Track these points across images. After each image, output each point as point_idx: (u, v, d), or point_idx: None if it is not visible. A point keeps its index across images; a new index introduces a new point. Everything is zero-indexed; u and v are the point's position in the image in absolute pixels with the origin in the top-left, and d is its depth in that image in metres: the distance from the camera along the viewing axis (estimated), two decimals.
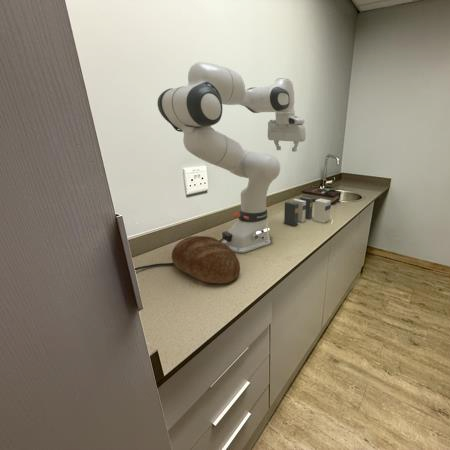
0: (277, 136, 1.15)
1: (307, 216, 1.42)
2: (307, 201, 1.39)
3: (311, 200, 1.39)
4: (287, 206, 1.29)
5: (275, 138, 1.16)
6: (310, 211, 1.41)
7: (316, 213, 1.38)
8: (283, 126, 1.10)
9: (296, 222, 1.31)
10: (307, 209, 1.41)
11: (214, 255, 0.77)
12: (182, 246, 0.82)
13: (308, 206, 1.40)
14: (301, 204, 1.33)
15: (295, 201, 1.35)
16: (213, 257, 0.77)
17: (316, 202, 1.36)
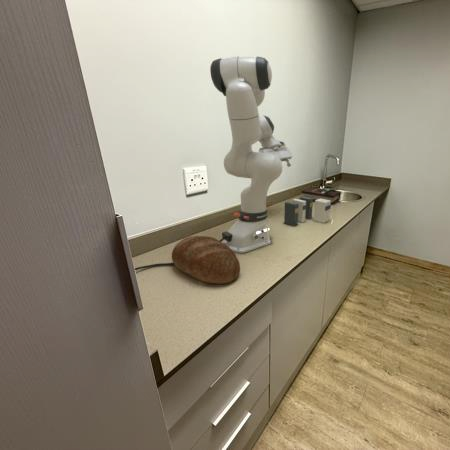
0: None
1: (307, 216, 1.42)
2: (307, 201, 1.39)
3: (311, 200, 1.39)
4: (287, 206, 1.29)
5: None
6: (310, 211, 1.41)
7: (316, 213, 1.38)
8: (277, 147, 1.34)
9: (296, 222, 1.31)
10: (307, 209, 1.41)
11: (214, 255, 0.77)
12: (182, 246, 0.82)
13: (308, 206, 1.40)
14: (301, 204, 1.33)
15: (295, 201, 1.35)
16: (213, 257, 0.77)
17: (316, 202, 1.36)
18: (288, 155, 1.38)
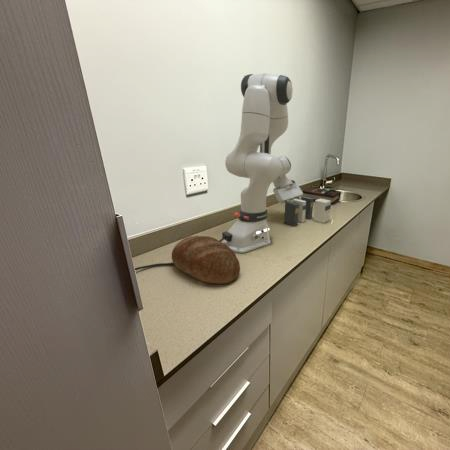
0: (288, 195, 1.34)
1: (307, 216, 1.42)
2: (308, 201, 1.39)
3: (312, 200, 1.39)
4: (287, 206, 1.29)
5: (288, 197, 1.33)
6: (310, 211, 1.41)
7: (316, 213, 1.38)
8: (290, 186, 1.37)
9: (296, 222, 1.31)
10: (307, 209, 1.41)
11: (214, 255, 0.77)
12: (182, 246, 0.82)
13: (309, 206, 1.40)
14: (301, 204, 1.33)
15: (295, 201, 1.35)
16: (213, 257, 0.77)
17: (316, 202, 1.36)
18: (299, 193, 1.42)
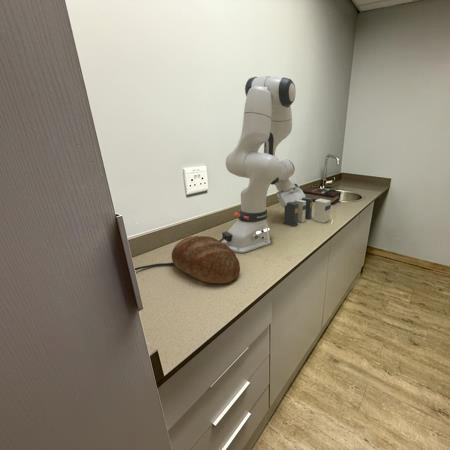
0: (291, 199, 1.33)
1: (307, 216, 1.42)
2: (307, 201, 1.39)
3: (311, 200, 1.39)
4: (287, 206, 1.29)
5: (291, 201, 1.32)
6: (310, 211, 1.41)
7: (316, 213, 1.38)
8: (293, 190, 1.37)
9: (296, 222, 1.31)
10: (307, 209, 1.41)
11: (214, 255, 0.77)
12: (182, 246, 0.82)
13: (308, 206, 1.40)
14: (301, 204, 1.33)
15: (295, 201, 1.35)
16: (213, 257, 0.77)
17: (316, 202, 1.36)
18: (302, 197, 1.41)
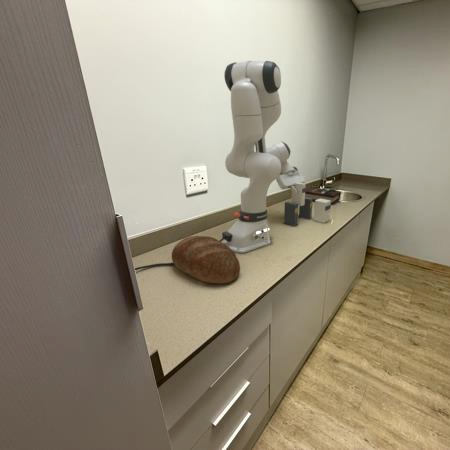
0: (291, 182, 1.30)
1: (307, 216, 1.42)
2: (307, 201, 1.39)
3: (311, 200, 1.39)
4: (287, 206, 1.29)
5: (290, 183, 1.29)
6: (310, 211, 1.41)
7: (316, 213, 1.38)
8: (292, 172, 1.33)
9: (296, 222, 1.31)
10: (307, 209, 1.41)
11: (214, 255, 0.77)
12: (182, 246, 0.82)
13: (308, 206, 1.40)
14: (300, 187, 1.30)
15: None
16: (213, 257, 0.77)
17: (316, 202, 1.36)
18: (302, 180, 1.38)
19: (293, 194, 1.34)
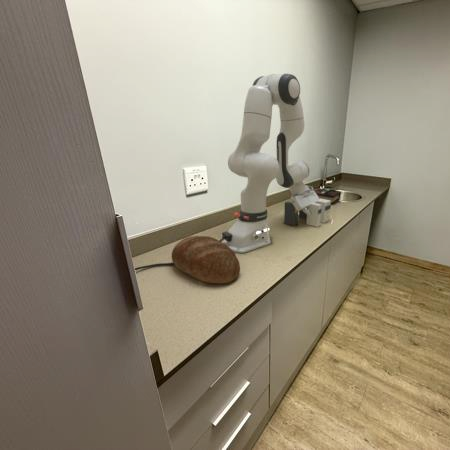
0: (306, 202, 1.28)
1: None
2: None
3: None
4: (287, 206, 1.29)
5: (306, 204, 1.27)
6: None
7: None
8: (307, 193, 1.31)
9: (296, 222, 1.31)
10: None
11: (214, 255, 0.77)
12: (182, 246, 0.82)
13: None
14: (316, 208, 1.28)
15: (310, 205, 1.30)
16: (213, 257, 0.77)
17: None
18: (316, 200, 1.36)
19: None
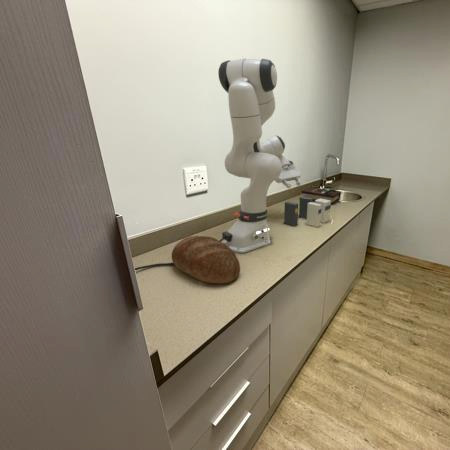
0: (286, 175, 1.30)
1: None
2: (307, 201, 1.39)
3: (311, 200, 1.39)
4: (287, 206, 1.29)
5: (285, 177, 1.29)
6: None
7: None
8: (287, 166, 1.34)
9: (296, 222, 1.31)
10: None
11: (214, 255, 0.77)
12: (182, 246, 0.82)
13: None
14: (316, 208, 1.28)
15: (310, 205, 1.30)
16: (213, 257, 0.77)
17: (316, 202, 1.36)
18: (297, 174, 1.38)
19: (308, 215, 1.32)
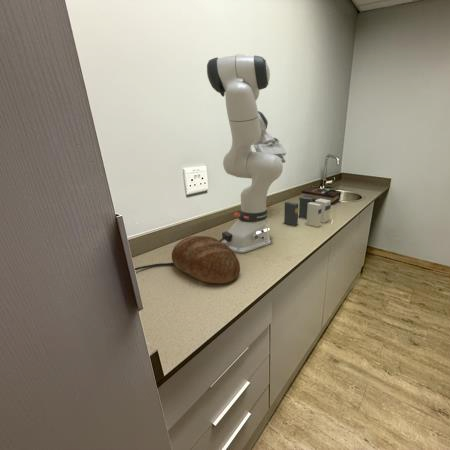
0: (270, 151, 1.30)
1: None
2: (307, 201, 1.39)
3: (311, 200, 1.39)
4: (287, 206, 1.29)
5: (269, 152, 1.28)
6: None
7: None
8: (272, 143, 1.33)
9: (296, 222, 1.31)
10: None
11: (214, 255, 0.77)
12: (182, 246, 0.82)
13: None
14: (317, 208, 1.28)
15: (310, 205, 1.30)
16: (213, 257, 0.77)
17: (316, 202, 1.36)
18: (282, 151, 1.38)
19: (308, 215, 1.32)
